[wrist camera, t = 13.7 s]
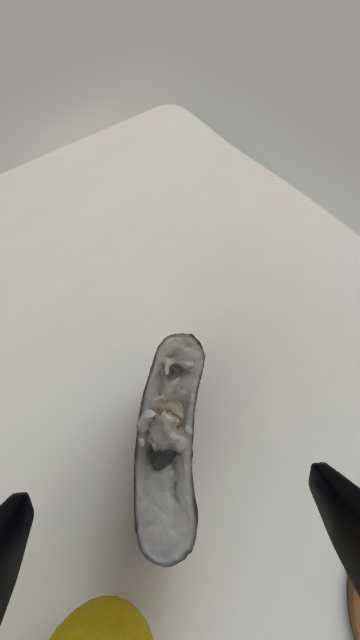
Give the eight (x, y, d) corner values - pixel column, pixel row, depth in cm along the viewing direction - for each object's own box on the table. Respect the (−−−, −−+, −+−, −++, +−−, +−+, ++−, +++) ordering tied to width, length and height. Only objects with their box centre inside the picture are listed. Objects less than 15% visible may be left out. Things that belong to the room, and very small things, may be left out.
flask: (186, 514, 18) (201, 601, 8) (141, 510, 18) (99, 592, 8) (194, 373, 21) (210, 313, 12) (156, 370, 21) (142, 308, 12)
